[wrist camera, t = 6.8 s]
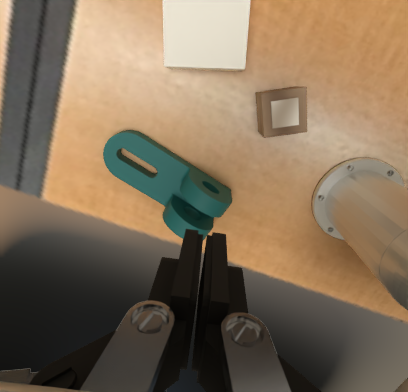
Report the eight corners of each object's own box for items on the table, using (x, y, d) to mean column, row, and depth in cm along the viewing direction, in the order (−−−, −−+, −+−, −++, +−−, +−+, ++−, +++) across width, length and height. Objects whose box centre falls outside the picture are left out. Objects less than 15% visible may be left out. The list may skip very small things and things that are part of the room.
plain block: (247, -15, 32) (252, -31, 28) (241, 71, 36) (245, 69, 31) (169, -17, 32) (162, -34, 28) (170, 68, 36) (163, 66, 31)
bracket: (230, 188, 41) (233, 211, 34) (205, 222, 44) (203, 250, 36) (122, 120, 38) (100, 128, 31) (101, 160, 41) (76, 176, 33)
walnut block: (294, 86, 36) (307, 86, 31) (295, 126, 38) (307, 132, 33) (255, 92, 36) (261, 93, 31) (258, 131, 38) (264, 138, 33)
